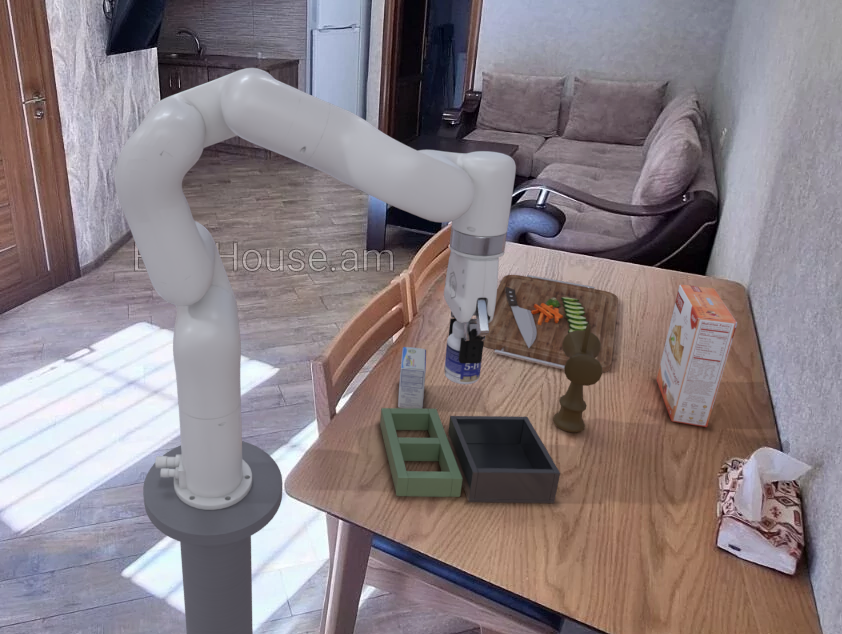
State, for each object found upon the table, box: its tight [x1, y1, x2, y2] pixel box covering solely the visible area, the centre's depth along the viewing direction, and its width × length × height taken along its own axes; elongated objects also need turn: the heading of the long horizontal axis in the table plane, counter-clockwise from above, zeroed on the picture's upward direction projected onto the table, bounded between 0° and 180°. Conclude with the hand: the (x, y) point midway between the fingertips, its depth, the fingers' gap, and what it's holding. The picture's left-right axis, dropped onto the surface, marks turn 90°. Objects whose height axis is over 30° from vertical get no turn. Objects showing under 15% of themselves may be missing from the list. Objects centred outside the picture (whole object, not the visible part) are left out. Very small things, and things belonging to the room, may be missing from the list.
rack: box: [379, 407, 463, 498], centre depth 104 cm, size 10×18×4 cm, turn 179°
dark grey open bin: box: [447, 415, 561, 504], centre depth 101 cm, size 13×14×6 cm
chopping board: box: [483, 274, 619, 374], centre depth 149 cm, size 45×27×3 cm, turn 151°
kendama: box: [552, 324, 603, 434], centre depth 109 cm, size 6×10×20 cm, turn 157°
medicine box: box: [397, 346, 427, 409], centre depth 119 cm, size 8×4×9 cm, turn 167°
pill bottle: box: [444, 321, 483, 385], centre depth 98 cm, size 5×5×9 cm
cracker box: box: [656, 284, 738, 428], centre depth 115 cm, size 14×6×21 cm, turn 160°
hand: (464, 350), depth 98 cm, fingers closed on pill bottle, 5 cm apart
